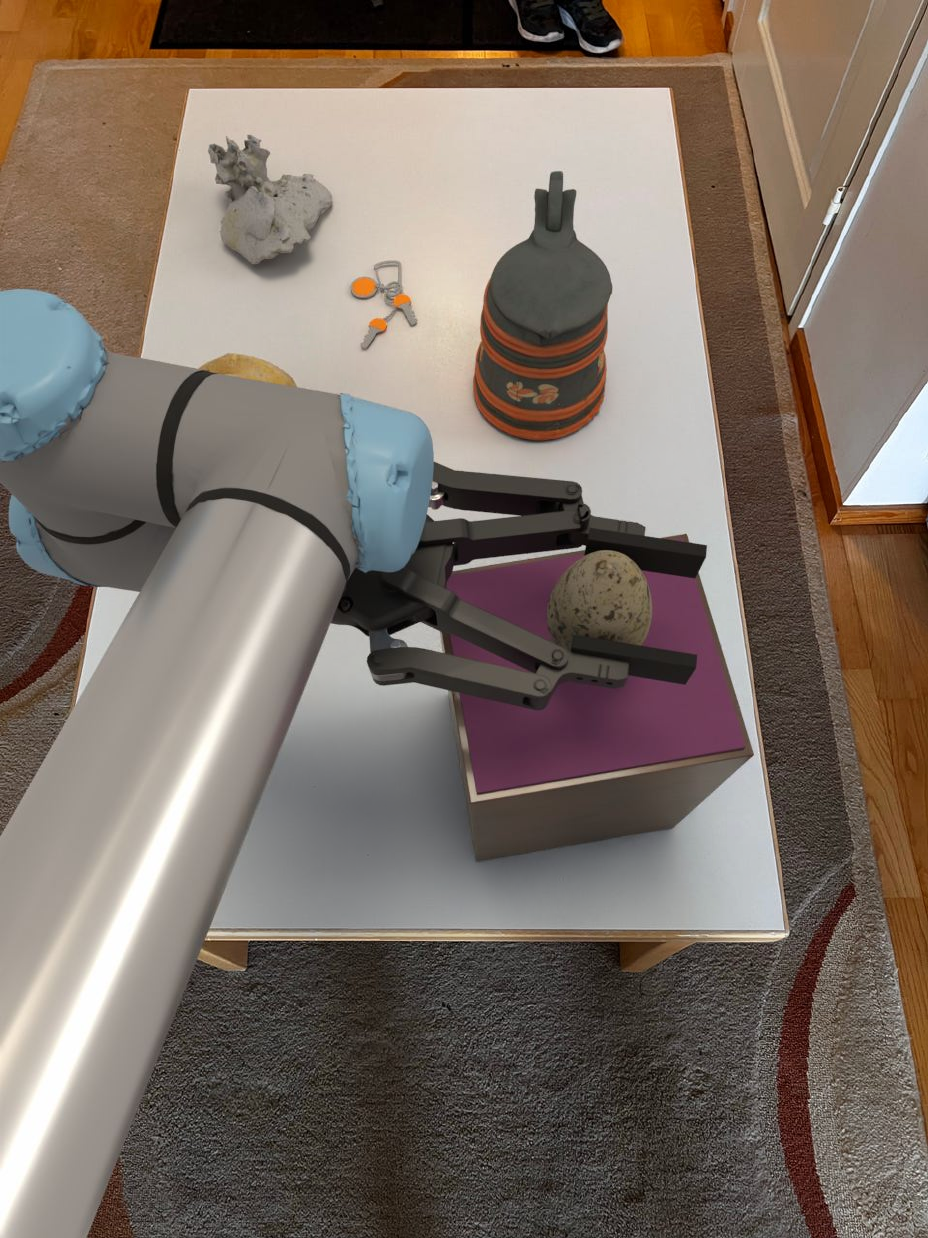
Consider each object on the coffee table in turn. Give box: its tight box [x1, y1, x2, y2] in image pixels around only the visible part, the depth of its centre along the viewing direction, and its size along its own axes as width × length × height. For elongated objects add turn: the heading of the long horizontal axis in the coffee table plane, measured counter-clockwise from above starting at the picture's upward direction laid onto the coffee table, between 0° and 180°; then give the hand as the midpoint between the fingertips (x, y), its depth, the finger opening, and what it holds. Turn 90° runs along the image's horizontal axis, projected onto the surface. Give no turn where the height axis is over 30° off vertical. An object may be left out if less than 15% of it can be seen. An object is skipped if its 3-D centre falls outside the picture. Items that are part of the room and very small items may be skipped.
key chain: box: [349, 260, 418, 349], centre depth 103 cm, size 13×7×1 cm, turn 8°
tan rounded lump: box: [198, 352, 298, 387], centre depth 92 cm, size 13×10×10 cm
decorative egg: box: [547, 550, 652, 651], centre depth 49 cm, size 6×6×10 cm
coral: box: [207, 134, 333, 265], centre depth 104 cm, size 17×14×10 cm
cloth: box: [446, 538, 746, 794], centre depth 57 cm, size 17×15×1 cm
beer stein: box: [472, 170, 613, 442], centre depth 89 cm, size 19×15×20 cm
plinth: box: [439, 533, 755, 863], centre depth 69 cm, size 18×16×26 cm
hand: (695, 614), depth 48 cm, fingers closed on decorative egg, 6 cm apart
